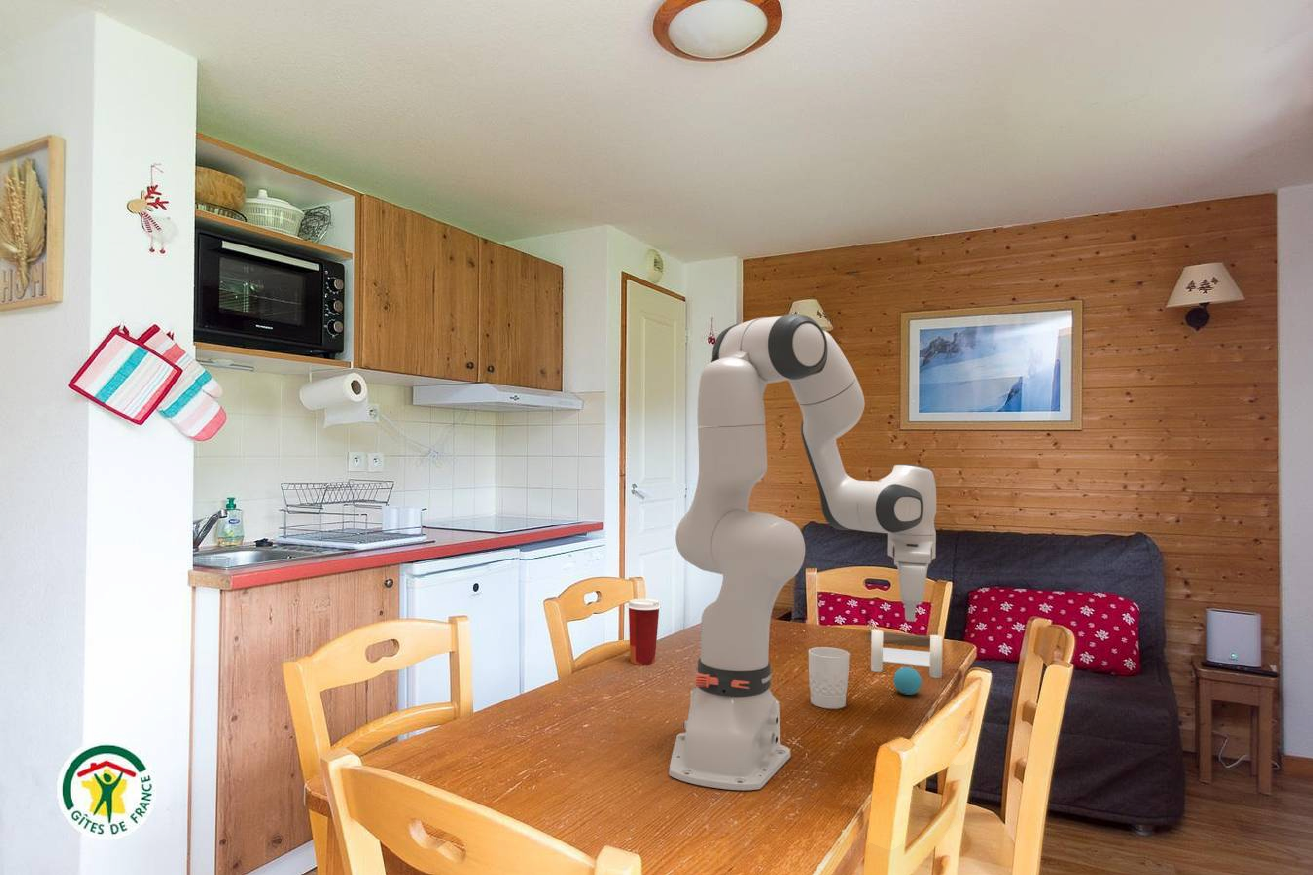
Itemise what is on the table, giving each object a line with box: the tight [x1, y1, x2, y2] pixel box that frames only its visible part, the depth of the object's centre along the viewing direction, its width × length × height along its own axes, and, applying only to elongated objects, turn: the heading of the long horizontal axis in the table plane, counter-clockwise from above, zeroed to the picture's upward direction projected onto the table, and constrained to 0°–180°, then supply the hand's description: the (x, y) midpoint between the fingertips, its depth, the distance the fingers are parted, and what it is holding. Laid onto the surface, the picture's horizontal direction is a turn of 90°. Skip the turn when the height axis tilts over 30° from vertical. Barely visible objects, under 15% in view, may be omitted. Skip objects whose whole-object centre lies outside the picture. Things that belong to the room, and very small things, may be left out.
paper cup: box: [626, 597, 662, 666], centre depth 174 cm, size 8×8×14 cm
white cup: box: [808, 646, 851, 710], centre depth 148 cm, size 8×8×10 cm
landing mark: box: [883, 647, 930, 668], centre depth 184 cm, size 14×14×1 cm
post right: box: [928, 634, 943, 679], centre depth 168 cm, size 3×3×9 cm
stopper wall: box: [867, 629, 930, 647], centre depth 198 cm, size 2×18×2 cm, turn 73°
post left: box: [870, 628, 885, 673], centre depth 172 cm, size 3×3×9 cm
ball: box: [893, 666, 923, 696], centre depth 155 cm, size 6×6×6 cm
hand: (909, 619), depth 146 cm, fingers closed
